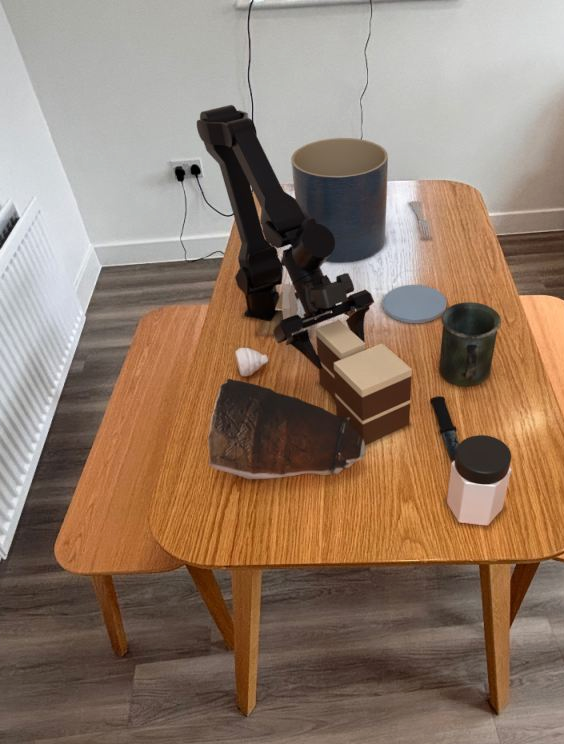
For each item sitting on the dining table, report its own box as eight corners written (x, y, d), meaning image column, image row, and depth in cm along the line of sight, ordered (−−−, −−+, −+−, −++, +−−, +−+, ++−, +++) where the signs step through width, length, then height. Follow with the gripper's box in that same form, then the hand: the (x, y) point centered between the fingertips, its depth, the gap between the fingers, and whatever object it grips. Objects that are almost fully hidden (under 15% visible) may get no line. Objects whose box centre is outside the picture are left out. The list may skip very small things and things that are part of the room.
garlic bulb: (272, 376, 127) (269, 353, 123) (242, 382, 126) (238, 359, 122) (266, 360, 130) (262, 337, 126) (237, 366, 129) (233, 343, 125)
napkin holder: (277, 324, 139) (272, 293, 133) (283, 306, 143) (279, 275, 138) (292, 325, 139) (288, 293, 133) (298, 307, 143) (295, 276, 137)
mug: (489, 354, 130) (497, 301, 120) (496, 401, 120) (506, 347, 111) (435, 354, 130) (439, 301, 121) (438, 401, 121) (444, 347, 111)
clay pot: (370, 444, 96) (206, 410, 95) (352, 516, 107) (204, 486, 106) (377, 392, 107) (231, 360, 106) (360, 462, 118) (227, 434, 117)
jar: (468, 479, 107) (476, 425, 98) (510, 501, 104) (523, 448, 95) (437, 510, 103) (443, 457, 94) (480, 535, 100) (490, 483, 90)
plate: (374, 316, 140) (374, 312, 139) (394, 284, 148) (394, 280, 147) (436, 328, 136) (436, 324, 135) (453, 294, 144) (454, 290, 144)
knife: (429, 397, 119) (445, 395, 120) (429, 403, 121) (445, 400, 121) (456, 476, 106) (473, 473, 106) (455, 481, 107) (473, 479, 107)
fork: (418, 211, 176) (418, 200, 174) (431, 239, 161) (432, 227, 159) (408, 211, 176) (408, 201, 174) (420, 239, 161) (421, 228, 159)
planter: (290, 228, 167) (282, 145, 151) (371, 215, 170) (371, 132, 155) (310, 270, 153) (303, 183, 138) (398, 255, 156) (401, 168, 141)
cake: (336, 418, 118) (333, 362, 109) (381, 398, 122) (382, 342, 112) (363, 446, 113) (361, 390, 104) (409, 425, 117) (412, 369, 107)
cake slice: (319, 383, 125) (315, 328, 115) (341, 374, 127) (338, 319, 117) (343, 408, 120) (341, 353, 110) (366, 399, 122) (365, 343, 112)
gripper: (272, 278, 105) (311, 368, 107) (368, 246, 111) (403, 331, 113) (258, 300, 115) (293, 381, 117) (346, 270, 121) (378, 347, 123)
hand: (342, 360), depth 117 cm, fingers open, 9 cm apart
